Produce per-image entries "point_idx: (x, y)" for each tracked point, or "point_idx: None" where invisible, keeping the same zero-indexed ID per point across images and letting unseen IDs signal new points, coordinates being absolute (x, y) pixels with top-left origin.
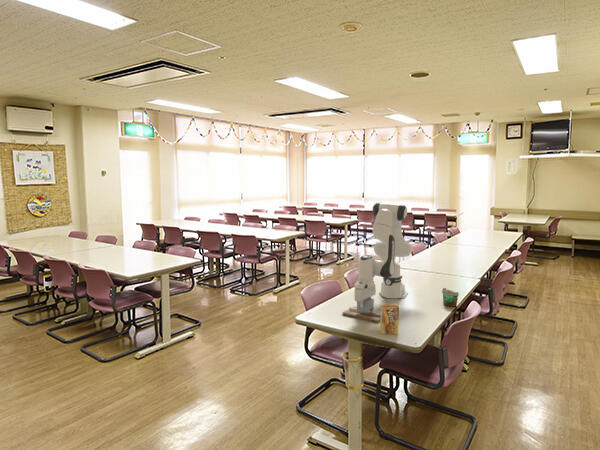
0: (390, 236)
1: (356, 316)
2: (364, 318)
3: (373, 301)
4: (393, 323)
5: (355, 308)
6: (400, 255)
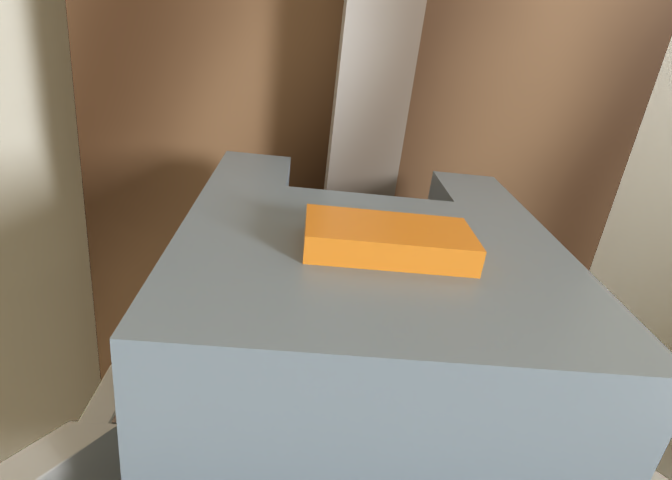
0: None
1: (90, 187)
2: (105, 348)
3: None
4: None
5: (399, 26)
6: None
